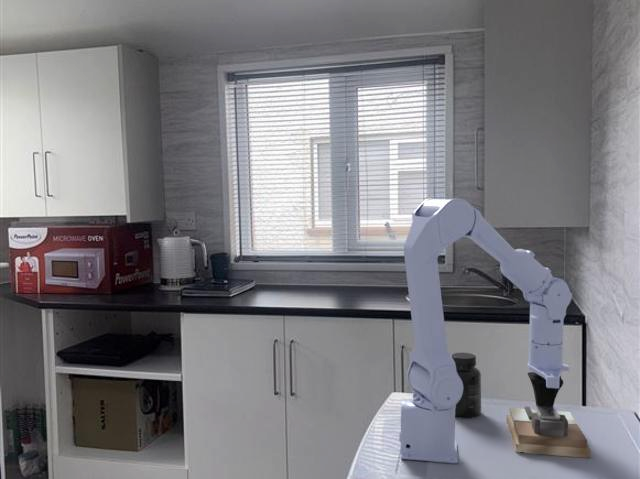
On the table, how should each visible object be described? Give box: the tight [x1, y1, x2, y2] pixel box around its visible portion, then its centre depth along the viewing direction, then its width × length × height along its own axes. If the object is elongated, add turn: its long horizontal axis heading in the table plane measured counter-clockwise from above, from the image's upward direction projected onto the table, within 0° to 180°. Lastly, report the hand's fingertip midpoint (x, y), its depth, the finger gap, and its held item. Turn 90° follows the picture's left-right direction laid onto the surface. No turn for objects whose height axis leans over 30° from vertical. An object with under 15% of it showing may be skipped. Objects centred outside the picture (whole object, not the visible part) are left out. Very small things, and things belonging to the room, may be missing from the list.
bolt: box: [536, 406, 560, 421], centre depth 100 cm, size 3×5×3 cm, turn 168°
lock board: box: [506, 405, 591, 459], centre depth 102 cm, size 12×13×6 cm
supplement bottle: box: [451, 352, 482, 419], centre depth 115 cm, size 7×7×12 cm
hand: (544, 413), depth 104 cm, fingers closed
